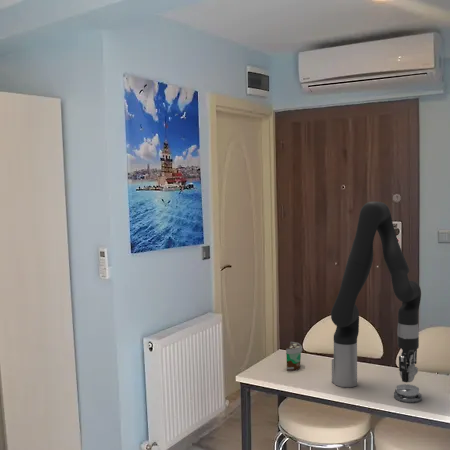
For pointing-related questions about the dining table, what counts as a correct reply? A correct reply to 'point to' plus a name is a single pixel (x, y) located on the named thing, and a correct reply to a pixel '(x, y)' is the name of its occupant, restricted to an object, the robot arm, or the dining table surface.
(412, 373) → the frog figurine
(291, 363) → the food container
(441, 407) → the dining table surface
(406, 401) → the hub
